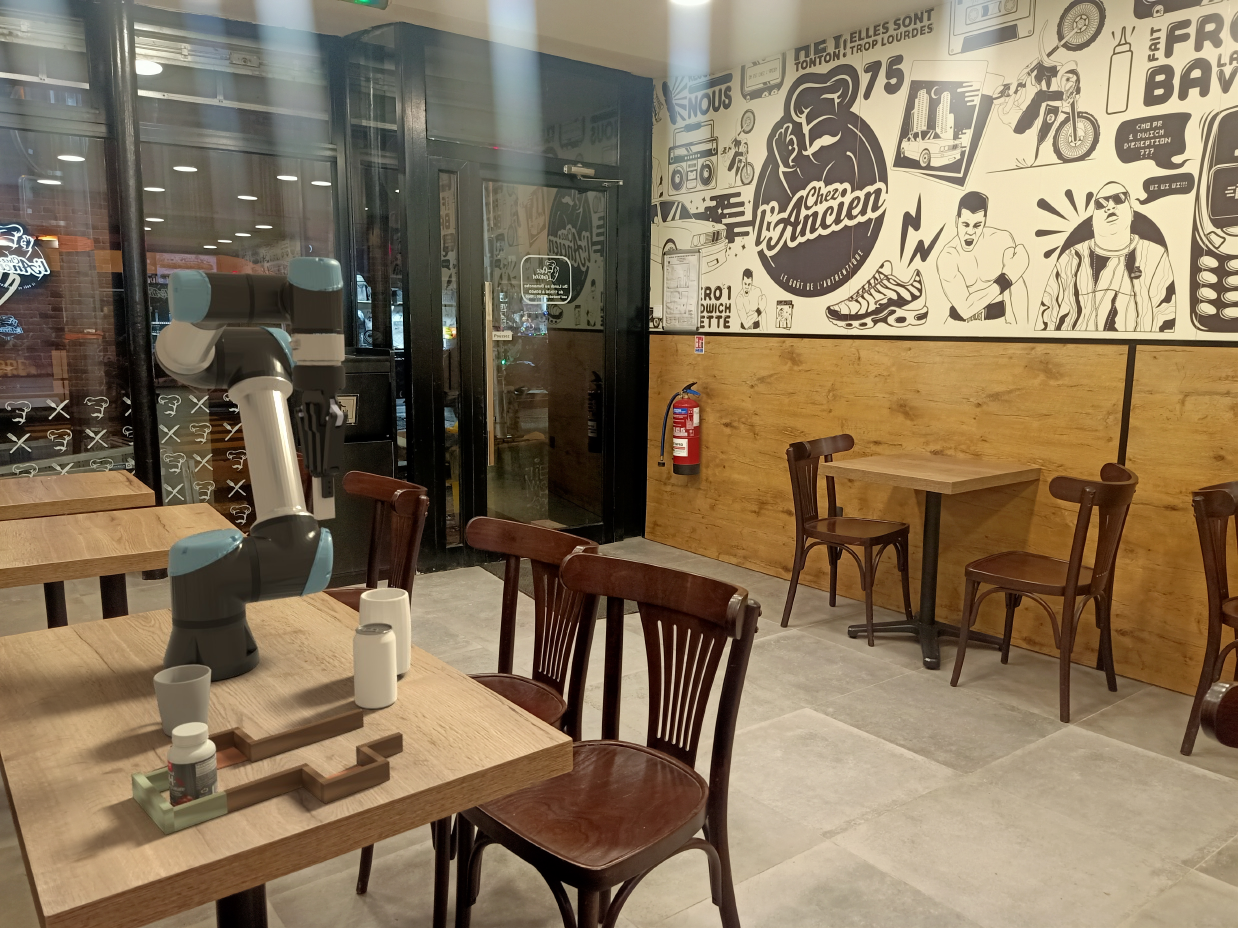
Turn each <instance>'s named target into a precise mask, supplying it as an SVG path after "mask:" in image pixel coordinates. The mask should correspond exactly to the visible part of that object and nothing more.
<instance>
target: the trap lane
mask: <svg viewBox="0 0 1238 928" xmlns="http://www.w3.org/2000/svg"><path fill="white" fill-rule="evenodd" d="M360 728H364V710H363V709H362V708H357V709H354V710H349V711H347V712H344V713H340V714H337V715H334V716H330V717H327V718H324V719H321V720H317V721H315V722H311V723H308V724H304V725H301V726H298V727H294V728H292V729H287V730H285V731H281V732H278V733H275V734H271V735H267V736H265V737H261V738H259V739H255V738H253V737H252V736H251V735H249V733H247V732H246V731H244V730H243V729H242V728H241V727H240V726H235V727H232V728H228V729H225V730H221V731H218V732H217V731H216V732H215V733H211V734H209V735H208V736H209V737H208V739H209V740H211V741H212V742H213V743H214V744H215V747H216V763H217V771H218V770H220V769H224V768H226V767H229V766H230V767H231V766H234V765H236V764H240V763H242V762H245V761H250V762H251V763H255V762H257V761H260V760H261V761H262V760H264V759H267V758H270V757H273V756H276V755H280V754H282V753H286V752H289V751H292V750H295V749H299V748H302V747H305V746H309V745H311V744H313V743H317V742H320V741H323V740H326V739H329V738H332V737H335V736H338V735H341V734H344V733H348V732H351V731H354V730H358V729H360ZM403 737H404V736H403V733H401V732H400V731H397V732H395V733H391V734H388V735H385V736H382V737H380V738H379V737H378V738H376V739H374V740H373V739H372V740H370V741H368V742H364V743H360V744H359V745H356V746H355V757H356V759H355V761H356V766H355V767H352V768H349V769H346V770H343V771H340V772H337V773H334V774H332V775H329V776H326V777H325V776H324V775H323V774H322V773H321V772H319V771H318V770H317V769H315V768H314V767H312V766H311V765H310V764H309V763H308V762H305V763H302V764H298V765H296V766H292V767H290V768H287V769H284V770H281V771H277V772H275V773H272V774H269V775H267V776H262V777H260V778H257V779H252V780H251V781H247V782H245V783H242V784H239V785H236V786H233V787H230V788H227V789H224V790H221V791H218V793H215V794H212V795H209V796H206V797H203V798H200V799H197V800H194V801H191V802H188V803H185V804H182V805H179V806H176V807H173V806H172V805H171V804H170V801H168V800H167V798H165V796H163V794H162V793H161V792H164V791H167V790H169V777H168V766H166V767H163V768H160V769H157V770H152V771H150V772H147V773H142V772H141V771H138V772H133V773H131V774H130V775H131V776H130V777H131V789H132V798H133V799H134V800H135V801H136V802H137V804H138V805H140V807H141V808H142V810H144V811H145V813H146V814H147V815H148V816H149V817H150V819H151V820H152V821H153V822H154V823H155V824H156V825H157V827H158V828H159V829H160V830H161V832H163V834H165V835H169V834H173V833H175V832H179V831H181V830H183V829H186V828H189V827H191V826H196V825H198V824H200V823H203V822H206V821H209V820H213V819H214V818H218V817H220V816H223V815H227V814H228V813H232V812H234V811H237V810H240V809H242V808H243V809H244V808H245V807H249V806H252V805H255V804H257V803H260V802H263V801H266V800H269V799H271V798H274V797H277V796H280V795H282V794H286V793H288V792H292V791H295V790H297V789H299V788H304V789H306V790H307V791H308V792H309V793H311V794H312V795H313V796H314V797H316V798H317V799H318V800H319V801H321V802H322V803H323V804H328V803H330V802H333V801H336V800H339V799H342V798H344V797H345V798H346V796H347V797H348V796H350V795H353V794H355V793H358V792H361V791H364V790H366V789H369V788H371V787H373V786H374V787H375V786H376V785H379V784H382V783H385V782H388V781H391V776H390V775H391V769H390V768H391V765H390V760H388V759H386V758H388V757H391V756H393V755H396V754H399V753H403V752H404V743H403V742H404V739H403ZM173 745H174V744H172V745H170V748H171V747H172V746H173ZM170 748H169V749H170Z"/></svg>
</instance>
